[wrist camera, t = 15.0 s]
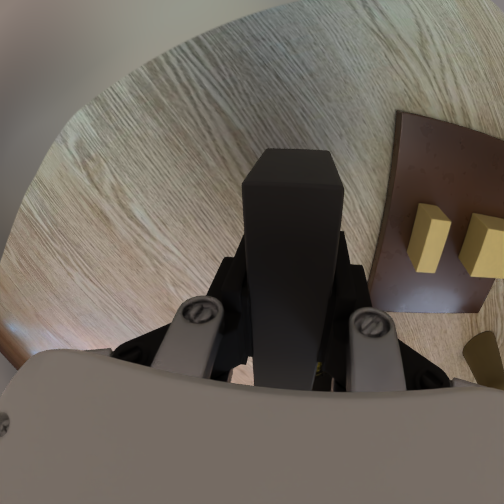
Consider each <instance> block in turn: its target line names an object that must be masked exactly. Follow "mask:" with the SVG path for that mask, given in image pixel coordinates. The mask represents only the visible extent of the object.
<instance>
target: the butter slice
mask: <svg viewBox="0 0 504 504" xmlns="http://www.w3.org/2000/svg"><path fill="white" fill-rule="evenodd" d="M450 226H451V221H450V219H449V218H448V217H447V216H446V215H445V214H444V213H443V212H442V210H441V209H440V208H439V207H438V206H435V205H429V204H422V203H419V205H418V209H417V214H416V218H415V222H414V226H413V230H412V234H411V238H410V242H409V246H408V249H407V254H408V256H409V258H410V260H411V262H412V264H413V266H414V269H415V271H416V272H423V273H435V271H436V269H437V266H438V263H439V260H440V257H441V254H442V251H443V248H444V245H445V242H446V239H447V236H448V232H449V229H450Z"/></svg>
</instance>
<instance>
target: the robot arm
mask: <svg viewBox="0 0 504 504" xmlns="http://www.w3.org/2000/svg"><path fill="white" fill-rule="evenodd" d="M248 356H249V357H253V351H252V335H251V319H250V303H249V292H248V283H247V267H246V251H245V234H244V235H243V237H242V240H241V242H240V244H239V247H238V249H237V251H236V254H235V256H234V257H224V259H223V261H222V263H221V265H220V267H219V269H218V271H217V273H216V275H215V278H214V280H213V282H212V284H211V286H210V288H209V291H208V293H207V295H206V296H196V297H192V298H190V299H188V300H186V301H185V302H184V303H182V304H181V306H180V307H179V308H178V310H177V312H176V314H175V316H174V318H173V321H172V323H170V324H167V325H165V326H163V327H160V328H158V329H156V330H153V331H151V332H149V333H146V334H144V335H142V336H139V337H137V338H134V339H132V340H130V341H127V342H125V343H123V344H121V345H120V346H119V347H117V348H116V349H115V351H112V349H111V348H107V349H96V350H84V351H81V350H72V349H53V350H46V351H42V352H39V353H37V354H35V355H33V356H32V357H31V358H30V359H28V360H27V361H26V362H25V364H24V365H23V366H22V367H21V368H20V369H19V371H18V372H17V373H16V374H15V376H14V377H13V378H12V380H11V381H10V382H9V384H8V385H7V387H6V389H5V390H4V391H3V393H2V395H1V396H0V504H504V391H503V390H499V389H495V388H490V387H486V386H482V385H479V384H475V383H472V382H468V381H465V380H461V379H458V378H453V380H449V378H448V376H447V375H446V373H445V372H444V371H443V370H442V369H440V368H439V367H438V366H436V365H435V364H433V363H432V362H430V361H429V360H428V359H426V358H425V357H423V356H422V355H420V354H419V353H417V352H416V351H415V350H413V349H412V348H410V347H409V346H407V345H406V344H405V343H403V342H402V341H400V340H399V339H398V337H397V332H396V328H395V324H394V321H393V319H392V318H391V317H390V316H389V314H387V313H386V312H384V311H383V310H380V309H377V308H372V303H371V298H370V294H369V289H368V285H367V281H366V277H365V272H364V268H363V266H362V265H352V264H350V259H349V254H348V249H347V244H346V239H345V235H344V231H340V237H339V245H338V253H337V260H336V267H335V274H334V281H333V287H332V293H331V297H330V299H328V305H327V311H326V317H325V322H324V328H323V333H322V338H321V343H320V348H319V353H318V358H317V362H322V370H321V371H325V372H327V373H328V374H329V375H330V376H331V377H332V382H331V392H321V391H302V390H289V389H277V388H267V387H258V386H250V385H242V384H235V383H230V382H231V378H232V374H233V368H234V367H236V366H238V365H240V364H244V365H246V363H247V359H248Z"/></svg>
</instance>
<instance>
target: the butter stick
mask: <svg viewBox="0 0 504 504" xmlns="http://www.w3.org/2000/svg"><path fill="white" fill-rule="evenodd" d="M458 258H459V260H460V261H461V263H462V264H463V266H464V267H465V269H466V270H467V272H468V273H469V275H470V276H471V277H486V278H502V279H504V219H501V218H497V217H492V216H487V215H482V214H477V213H472V217H471V220H470V224H469V227H468V230H467V234H466V237H465V240H464V243H463V246H462V249H461V251H460V254H459V257H458Z"/></svg>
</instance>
